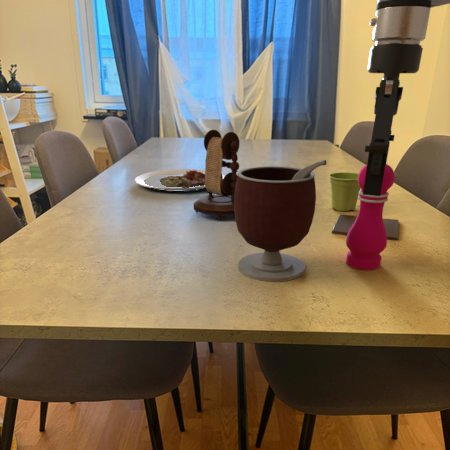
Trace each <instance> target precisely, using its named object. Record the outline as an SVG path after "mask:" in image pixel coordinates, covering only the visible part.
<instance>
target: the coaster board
mask: <svg viewBox="0 0 450 450" xmlns="http://www.w3.org/2000/svg"><path fill="white" fill-rule="evenodd" d="M357 216H358V215H352V214H351V215H350V214H341V213H340V214H339V215H338V217H337V219H336V222H334V226H333V228H332V230H331V234H334V235H344V236H347V234H348V232H349V230H350V228H351V227H352V225H353V224H354V222H355V220H356V219H357ZM383 223H384V227H385V230H386V234H387V240H390V241H398V239H399V219H395V218H394V219H393V218H384V217H383Z"/></svg>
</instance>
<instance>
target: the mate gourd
mask: <svg viewBox="0 0 450 450" xmlns="http://www.w3.org/2000/svg"><path fill="white" fill-rule="evenodd" d="M326 165H327V160H326V159H321V160H319V161H316V162H314V163H311V164H309V165H307V166H305V167H303V168H300V167H294V166H279V165H268V166H267V165H265V166H264V165H263V166H253V167H247V168H243V169H240V170H238V172H237V175H238V177H237V181H236V187H235V193H234V213H235V215H234V219H235V225H236V228H237V232H238V233H239V234H240V236H241V237H242V238H243V240H244V241H245V242H246V243H247V244H248V245H250V246H252V247H255V248H259V249H261V250H264V251H263V252H257V253H251V254H247V255H245V256H244V257H242V258H241V259H239V261H238V263H237V269H238V271H239V273H240V274H242V275H243V276H245V277H247V278H249V279H251V280H252V279H253V280H255V281H261V282H271V283H272V282H274V283H275V282H276V283H277V282H278V283H279V282H286V281H291V280H294V279H297V278H300V277H301V276H302V275H303V274H304V273H305V269H306V265H305V263H304V262H303V260H301V259H300V258H299V257H296V256H294V255H290V254H288V253H281V252H280V251H283V250H286V249H291V248H294V247H296V246H298V245H299V244H300V243H301V242H302V241H303V240H304V239H305V238H306V237H307V235H308V234H309V232H310V229H311V228H312V224H313V220H314V217H315V211H316V201H317V192H316V191H317V189H316V179H315V176H316V175H315V173H314V172H313V171H314V170H316V169H317V168H319V167H321V166H326Z"/></svg>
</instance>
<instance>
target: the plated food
mask: <svg viewBox="0 0 450 450" xmlns="http://www.w3.org/2000/svg"><path fill="white" fill-rule="evenodd" d="M179 174H183V176H168V177H164V178H161V179H159V180H160V182H161V184H162V185H164V186H166V187H182V188H158V187H153V186H149V185H147V184H145V182H144V180H145V179H147V178H149V177H152V176H157V175H179ZM225 176H226V174H223V173H222V177H223V179H224V177H225ZM134 182H135V183H136V185H139V186H140V187H145V188H149V189H151V188H156V189H164V190H196V189H203V188H206V186H204V185H205V169H190V168H189V169H188V168H183V169H178V168H177V169H163V170H156V171H155V170H154V171H149V172H147V173H146V172H145V173H142V174H139V175H138V176H136V177H135V178H134ZM199 185H200V186H199ZM193 186H194V187H195V186H197V187H195V188H189V187H193ZM198 186H199V187H198ZM203 190H204V189H203ZM196 191H197V190H196Z"/></svg>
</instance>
